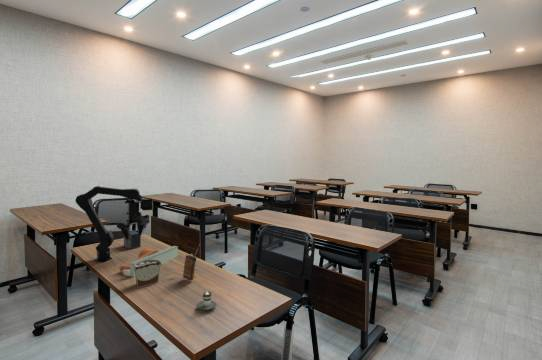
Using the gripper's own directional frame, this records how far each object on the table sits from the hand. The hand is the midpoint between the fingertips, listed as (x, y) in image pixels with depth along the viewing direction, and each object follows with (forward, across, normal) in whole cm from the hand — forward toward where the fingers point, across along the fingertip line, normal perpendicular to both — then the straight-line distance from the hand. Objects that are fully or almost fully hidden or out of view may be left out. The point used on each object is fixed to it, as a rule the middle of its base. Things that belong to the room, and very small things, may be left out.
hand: (133, 237), depth 167 cm
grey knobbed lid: (+12, -30, -69) cm, 76 cm away
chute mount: (+12, -5, -20) cm, 23 cm away
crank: (+12, -10, -14) cm, 21 cm away
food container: (+12, -24, -32) cm, 42 cm away
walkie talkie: (+12, -13, -46) cm, 50 cm away
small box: (+12, +13, +15) cm, 23 cm away
